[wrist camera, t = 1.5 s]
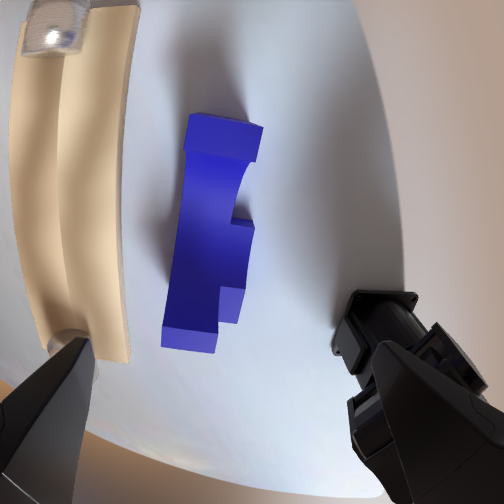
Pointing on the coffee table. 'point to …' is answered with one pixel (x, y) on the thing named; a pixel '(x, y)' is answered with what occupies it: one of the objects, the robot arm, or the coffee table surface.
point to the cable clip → (210, 233)
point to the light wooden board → (74, 181)
